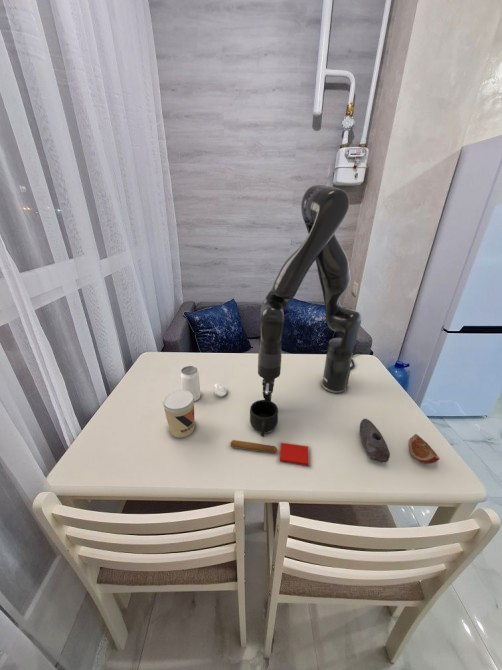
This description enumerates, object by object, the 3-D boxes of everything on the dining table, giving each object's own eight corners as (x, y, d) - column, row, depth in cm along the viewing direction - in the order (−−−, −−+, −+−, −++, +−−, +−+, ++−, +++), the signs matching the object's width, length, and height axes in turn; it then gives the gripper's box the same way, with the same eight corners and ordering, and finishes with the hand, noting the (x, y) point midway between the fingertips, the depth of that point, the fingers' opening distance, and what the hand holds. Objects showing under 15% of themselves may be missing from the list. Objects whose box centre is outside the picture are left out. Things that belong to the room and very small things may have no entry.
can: (196, 403, 96) (194, 376, 91) (180, 400, 98) (176, 373, 92) (203, 392, 102) (200, 366, 97) (187, 390, 103) (184, 364, 98)
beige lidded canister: (182, 444, 79) (178, 413, 74) (161, 431, 84) (155, 402, 79) (203, 425, 87) (200, 396, 81) (182, 414, 91) (178, 386, 86)
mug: (251, 414, 91) (251, 398, 88) (277, 416, 91) (278, 400, 88) (247, 442, 80) (247, 424, 77) (277, 444, 80) (278, 426, 77)
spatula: (228, 453, 77) (228, 448, 76) (232, 437, 82) (232, 433, 81) (308, 466, 73) (309, 461, 72) (307, 448, 79) (308, 443, 78)
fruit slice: (401, 445, 80) (406, 433, 78) (423, 444, 80) (428, 432, 78) (418, 469, 73) (423, 457, 70) (442, 469, 73) (448, 456, 71)
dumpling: (213, 390, 104) (214, 381, 103) (226, 392, 105) (227, 383, 104) (211, 398, 97) (213, 389, 96) (225, 400, 98) (227, 391, 97)
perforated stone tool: (353, 427, 87) (357, 410, 84) (369, 428, 86) (374, 411, 83) (368, 467, 73) (374, 449, 70) (388, 468, 73) (394, 450, 70)
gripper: (279, 373, 79) (276, 417, 87) (282, 352, 91) (279, 393, 99) (255, 371, 80) (254, 415, 88) (260, 350, 92) (259, 390, 100)
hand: (267, 403), depth 93 cm, fingers closed
